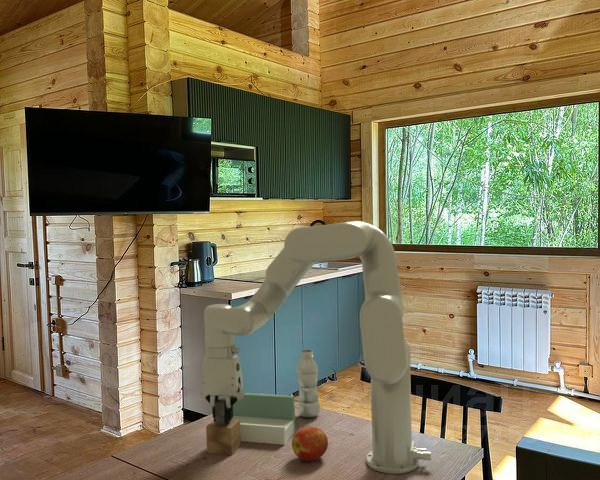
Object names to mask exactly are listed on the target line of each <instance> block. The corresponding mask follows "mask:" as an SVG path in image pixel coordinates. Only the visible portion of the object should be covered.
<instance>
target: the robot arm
mask: <svg viewBox="0 0 600 480" xmlns="http://www.w3.org/2000/svg"><path fill="white" fill-rule="evenodd" d="M356 258H359V259H360V261H361V265H362V266H361V267H362V279H363V285H364V297H365V298H364V302H363V303H362V305H361V307H360V310H359V311H360V312H359V325H360V326H359V327H360V336H361V343H362V344H361V346H362V353H363V362H364V366H365V370H366V372H367V374H368V375H369V377H370V398H371V399H370V404H371V405H370V407H371V408H370V409H371V410H370V411H371V440H372V441H371V445H372V448H371V449H372V450H371V451H369V452H368V453H367V454H366V459H365V460H366V464H367V465H368V467H370V468H371V469H373V470H374V471H376V472H380V473H382V474H383V473H384V474H388V475H389V474H393V475H394V474H395V475H398V474H399V475H400V474H407V473H410V472H413V471H414V470H416V469H417V468H418V466H419V464H420V460H423V461H431V462H432V452H431V451H427V448H425V447H424V448H423V447H422V448H421V447H420V448H419V447H417V446H415V441H414V440H413V439H412V438H413V437H412V435H413V434H412V408H411V407H412V404H411V402H412V392H411V390H412V389H411V386H412V385H411V365H412V364H411V362H412V361H411V357H412V356H411V351H410V350H411V349H410V346H409V344H408V342H407V341H406V339H405V334H404V324H403V322H404V321H403V319H404V313H405V308H404V307H405V306H404V303H403V298H402V297H403V296H402V290H401V284H400V282H401V280H400V276H399V269H398V261H397V255H396V251H395V249H394V247H393V244H392V242H391V240H390V238H389V237H388V236H387V234H385V232H383V231H382V230H381V228H380V229H379V228H378V227H376V226H374V225H372V224H370V223H367V222H365V221H362V220H361V221H360V220H352V221H351V220H350V221H345V222H344V221H343V222H337V223H331V224H323V225H315V226H311V225H310V226H307V225H306V226H298V227H295V228H293V229H292V230H291V231H290V232H289V233H288V234H287V236H286V237H285V240H284V243H283V248H282V250H281V251H280V252H279V253H278V254H277V255H276V256H275V258H274V259H273V260H272V261H271V262H270V264H269V265H268V266H267V268H266V270H265V278H264V280H263V283H262V284H261V285H260V287H258V289H257V290H256V291H255V293H254V294H253V295H252V296H251V298H250V299H249V300H248V301H247V302H244V303H242V304H241V305H238V306H235V307H232V305H230V304H227V303H215V304H210V305H207V306H206V307H205V308H204V313H203V316H204V319H203V320H204V341H205V356H204V357H203V361H202V366H201V367H202V368H201V388H200V391H199V394H198V395H199V396H200V397H202V398H203V399H205V400H206V401H207V402H208V404H209V406H210V407H211V409H212V412H211V414H212V418H213V420H214V422H216V421H215V402H216V401H218V400H219V399H220V398H219V397H224V398H226V408H225V422H226V423H229V422H230V421H231V420H232V418H233V405H234V404H235V403H236V402H237V401H239V400H241V399H243V398H244V397H245V393H246V392H244V389H243V388H244V387H243V386H244V383H243V375H242V368H241V362H240V358H239V356H238V355H237V354H239V353H240V348H239V347H236V344H235V336H238V337H239V336H243V337H245V336H249V335H251V334H252V333H254V332H255V331H257V330H258V329H260V328H262V327H263V326H264V325H265V324H266V323H267V322H268V320H270V319H271V317H272V316H273V315H274V314H275V313H276V312H277V310H278V309H279V308H280V306H282V305H283V303H284V302H285V300H286V299H287V298H288V296H290V294H291V293H292V291H293V290H294V288H296V287H297V285H298V284H299V283H300V282H301V280H302V279H303V278H304V276H306V274H307V273H308V272H309V271H310V269H311V268H312V267H313V266H314V265H315V264H316V263H323V262H331V261H341V260H342V261H343V260H344V261H345V260H351V259H356ZM237 393H238V395H237ZM235 395H237V396H235ZM234 396H235V397H234Z"/></svg>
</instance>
